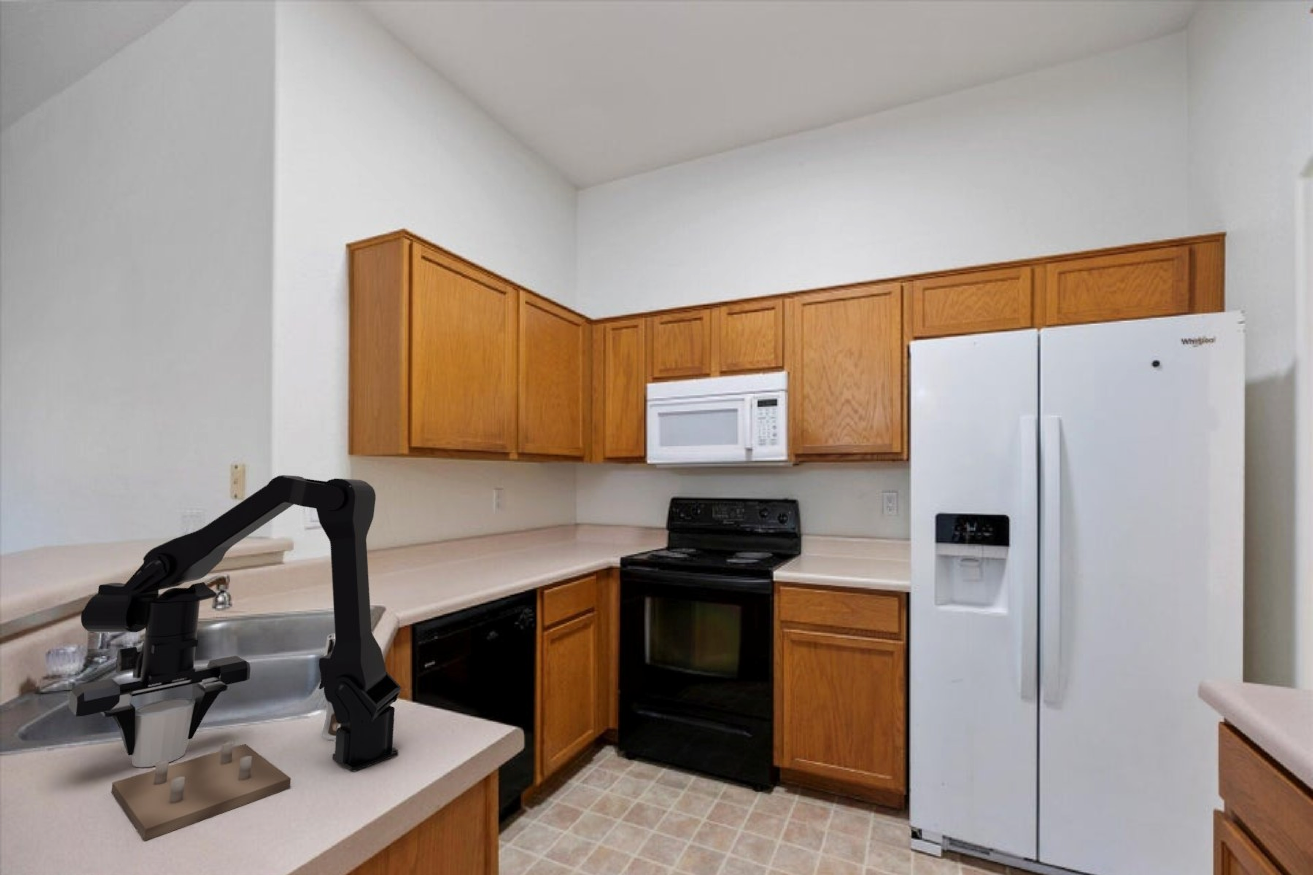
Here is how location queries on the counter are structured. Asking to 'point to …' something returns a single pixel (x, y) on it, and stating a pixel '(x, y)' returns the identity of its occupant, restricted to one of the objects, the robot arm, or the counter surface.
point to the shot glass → (162, 731)
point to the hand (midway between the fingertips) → (160, 746)
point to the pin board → (197, 789)
